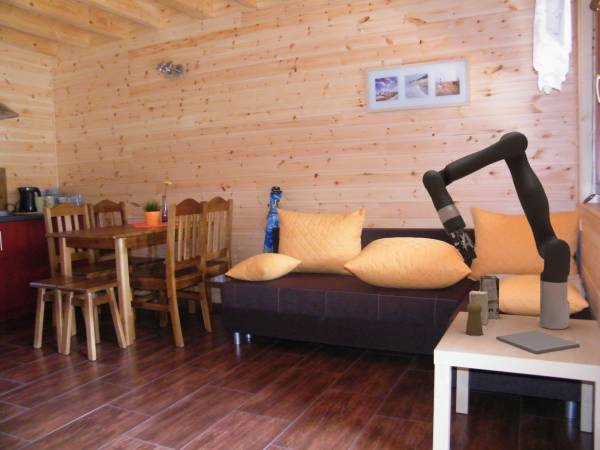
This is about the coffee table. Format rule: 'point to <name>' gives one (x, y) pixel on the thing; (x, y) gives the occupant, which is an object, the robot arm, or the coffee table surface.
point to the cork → (474, 320)
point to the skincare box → (482, 300)
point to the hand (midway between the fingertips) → (471, 258)
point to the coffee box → (491, 294)
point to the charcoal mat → (537, 342)
